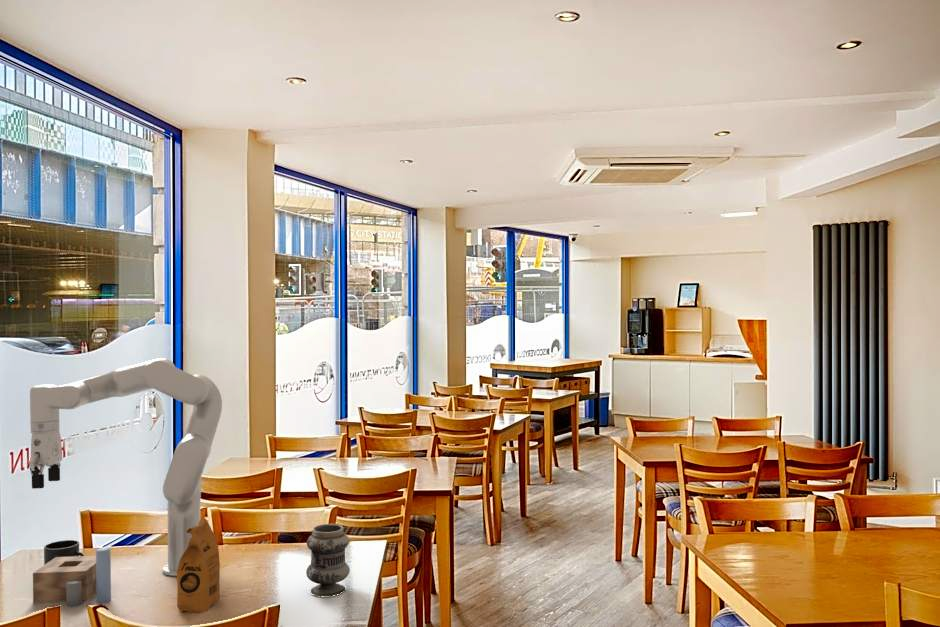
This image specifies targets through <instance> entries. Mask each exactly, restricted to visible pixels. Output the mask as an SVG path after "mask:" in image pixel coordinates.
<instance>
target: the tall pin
mask: <svg viewBox="0 0 940 627" xmlns="http://www.w3.org/2000/svg"><path fill="white" fill-rule="evenodd" d="M95 556H96V592H95V593H96V594H95V596H96V598H95V599H96V602H95V603H97V604H104V603H105V604H106V603H109V602H110V601H111V600H112V583H111V581H112V580H111V578H112V577H111V575H112V574H111V573H112V572H111V571H112V570H111V568H112V567H111V565H112V564H111V563H112V562H111V561H112V560H111V547H101V548H98V549H95Z"/></svg>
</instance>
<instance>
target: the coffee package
mask: <svg viewBox="0 0 940 627" xmlns="http://www.w3.org/2000/svg"><path fill="white" fill-rule="evenodd" d="M187 533H191V535H192V537H191V539H190V541H189V544H188V547H187V549H186V550H185V552H184V553H183V555H182V557H181V558H180V561H179V564H178V569H177V576H176V580H177V581H176V583H177V595H176V596H177V599H176V600H177V602H176V606H177V608H178V611H179V612H181V613H182V612H189V613H193V612H195V613H200V612H201V613H204V612H203V611H205V612H208V610H210V608H211V606H213V605H215V604H217V603H218V601H219V598H220V596H221V594H220V593H221V592H220V591H221V590H220V577H221V576H220V575H221V574H220V569H221V564H220V563H221V562H220V552H219V551H220V550H219V543H218V539H217V536H216V534H215V532H214V531H213V529H212V528H211V526H210V524H209V523H208V521H207V518H205V517H203V518H200V521H199V526H195V527H192V528H189V529H188V530H187Z"/></svg>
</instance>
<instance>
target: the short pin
mask: <svg viewBox="0 0 940 627" xmlns="http://www.w3.org/2000/svg"><path fill="white" fill-rule="evenodd" d="M66 595H67V601H66V607H68V608H74V606H76V607H78V605H79V606H80V605H82V604H81V603H82V601H83V600H81V581H80V580H74V581H70V582H67V583H66Z"/></svg>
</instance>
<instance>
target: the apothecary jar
mask: <svg viewBox="0 0 940 627" xmlns="http://www.w3.org/2000/svg"><path fill="white" fill-rule="evenodd" d="M349 544H350V538H349V536H348V534H346V533H345V531H344V527H343V525H341V524H339V523H337V524H336V523H324V524H318V525H316V526H314V527H313V529H312V533H311V535H309V537H308V538H307V541H306V546H307V548H308V549H309V550H311V551H310V556H311V559H310V564H309V565H308V567H307V568H306V577H307V578H308V579H309V581H311V582H312V583H315V584H316V585H315V586H313V587H312V588H311V589H310V591H311V593H312V594H314V595H316V596H320V597H319V598H322V597H321V596H333V595H337V594H340V593H341V592H343V591H344V590H345V588H346V587H345V586H344V585H343V584H340V582H342V581H344V580H345V579H346V578H347V577H348V576H349V574H350V571H351V570H350V566H349V564H348V563H347V562H346V548H347V547H348V546H349ZM311 593H310V594H311ZM312 594H311V595H312ZM341 594H342V593H341ZM341 594H340V595H341ZM314 595H313V596H314ZM316 596H315V597H316Z"/></svg>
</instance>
